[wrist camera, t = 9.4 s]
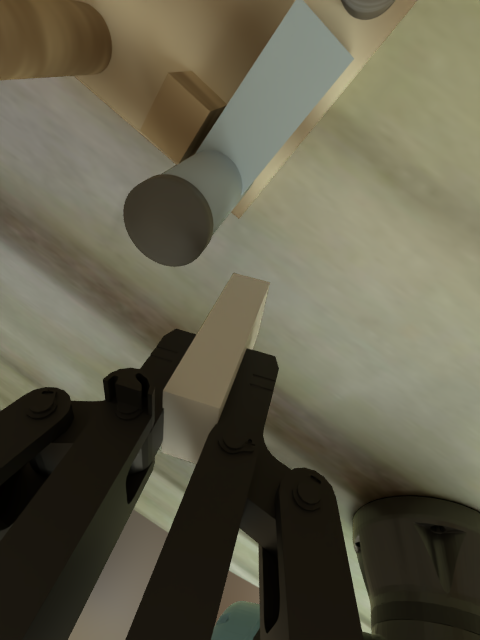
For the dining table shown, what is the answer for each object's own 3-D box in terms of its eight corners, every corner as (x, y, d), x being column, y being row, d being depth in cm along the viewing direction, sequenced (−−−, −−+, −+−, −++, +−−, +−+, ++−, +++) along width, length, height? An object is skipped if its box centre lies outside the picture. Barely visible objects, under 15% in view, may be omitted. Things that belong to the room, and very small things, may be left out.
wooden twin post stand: (244, 210, 23) (177, 305, 14) (60, 49, 21) (-167, 42, 12) (441, -30, 15) (569, -161, 6) (176, -358, 12) (-316, -1510, 3)
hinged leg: (187, 175, 21) (107, 232, 14) (303, 1, 15) (263, -45, 8) (230, 214, 22) (174, 285, 15) (357, 62, 16) (359, 64, 9)
